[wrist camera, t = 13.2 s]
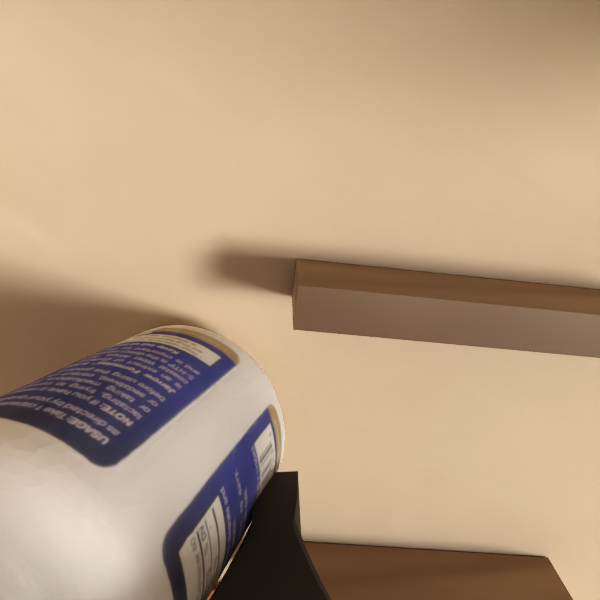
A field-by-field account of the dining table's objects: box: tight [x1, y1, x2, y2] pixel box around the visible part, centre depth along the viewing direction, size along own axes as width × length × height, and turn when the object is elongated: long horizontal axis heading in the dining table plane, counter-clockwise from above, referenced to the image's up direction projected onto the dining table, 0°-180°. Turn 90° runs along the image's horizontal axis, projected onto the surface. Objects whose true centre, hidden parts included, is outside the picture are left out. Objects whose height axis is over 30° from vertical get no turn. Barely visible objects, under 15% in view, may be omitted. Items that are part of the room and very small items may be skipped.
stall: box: [292, 259, 600, 600], centre depth 13 cm, size 10×9×2 cm
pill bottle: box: [0, 325, 285, 600], centre depth 9 cm, size 5×5×9 cm
